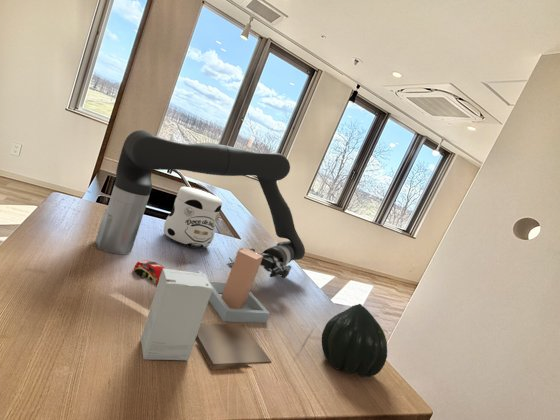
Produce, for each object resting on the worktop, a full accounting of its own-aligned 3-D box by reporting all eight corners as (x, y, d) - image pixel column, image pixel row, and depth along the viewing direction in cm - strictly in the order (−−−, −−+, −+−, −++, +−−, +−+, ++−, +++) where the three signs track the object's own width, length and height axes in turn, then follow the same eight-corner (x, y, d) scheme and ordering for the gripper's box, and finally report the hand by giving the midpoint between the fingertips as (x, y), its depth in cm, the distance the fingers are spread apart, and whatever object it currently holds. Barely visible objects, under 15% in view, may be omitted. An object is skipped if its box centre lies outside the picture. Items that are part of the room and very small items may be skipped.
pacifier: (250, 272, 124) (243, 263, 128) (257, 255, 122) (249, 247, 127) (232, 269, 119) (225, 261, 124) (239, 252, 118) (231, 244, 123)
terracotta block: (219, 302, 90) (238, 250, 88) (227, 297, 95) (246, 248, 93) (236, 311, 89) (256, 259, 87) (244, 305, 93) (263, 256, 91)
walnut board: (211, 369, 65) (213, 363, 65) (188, 328, 76) (190, 322, 76) (269, 366, 73) (271, 361, 73) (241, 329, 83) (243, 324, 83)
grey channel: (222, 324, 82) (227, 311, 81) (193, 282, 98) (197, 271, 97) (265, 326, 89) (270, 313, 88) (232, 286, 105) (236, 275, 104)
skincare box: (182, 342, 70) (207, 273, 68) (188, 363, 65) (215, 288, 63) (137, 339, 66) (162, 265, 64) (140, 361, 61) (167, 281, 59)
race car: (180, 293, 90) (185, 278, 89) (162, 296, 85) (168, 281, 85) (147, 268, 96) (152, 255, 96) (129, 270, 92) (134, 256, 91)
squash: (390, 381, 74) (401, 312, 82) (320, 353, 75) (338, 289, 84) (369, 391, 85) (380, 330, 94) (309, 367, 87) (325, 309, 95)
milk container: (194, 256, 118) (212, 204, 115) (150, 235, 122) (167, 184, 119) (217, 247, 135) (233, 202, 132) (177, 229, 138) (192, 185, 136)
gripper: (260, 238, 118) (240, 244, 102) (300, 256, 114) (286, 265, 99) (252, 259, 119) (232, 268, 103) (292, 277, 115) (276, 290, 100)
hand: (258, 267), depth 101 cm, fingers open, 8 cm apart
